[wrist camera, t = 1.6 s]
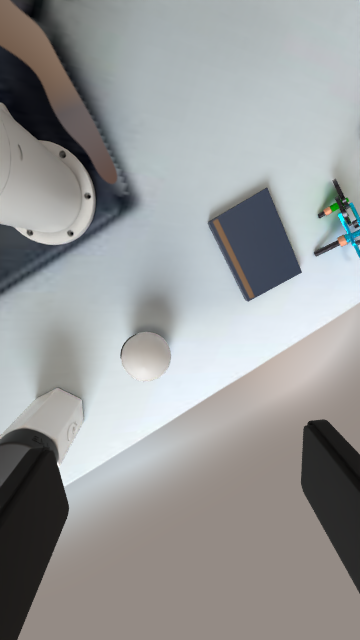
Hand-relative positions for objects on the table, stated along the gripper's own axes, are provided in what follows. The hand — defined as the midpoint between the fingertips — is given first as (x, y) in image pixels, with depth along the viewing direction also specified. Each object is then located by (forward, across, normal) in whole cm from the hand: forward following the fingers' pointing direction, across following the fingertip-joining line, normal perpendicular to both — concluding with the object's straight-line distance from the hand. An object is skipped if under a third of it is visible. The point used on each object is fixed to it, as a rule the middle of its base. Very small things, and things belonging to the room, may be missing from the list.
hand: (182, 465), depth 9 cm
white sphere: (+30, +6, +7) cm, 31 cm away
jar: (+30, +22, +16) cm, 40 cm away
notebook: (+29, -13, -8) cm, 33 cm away
